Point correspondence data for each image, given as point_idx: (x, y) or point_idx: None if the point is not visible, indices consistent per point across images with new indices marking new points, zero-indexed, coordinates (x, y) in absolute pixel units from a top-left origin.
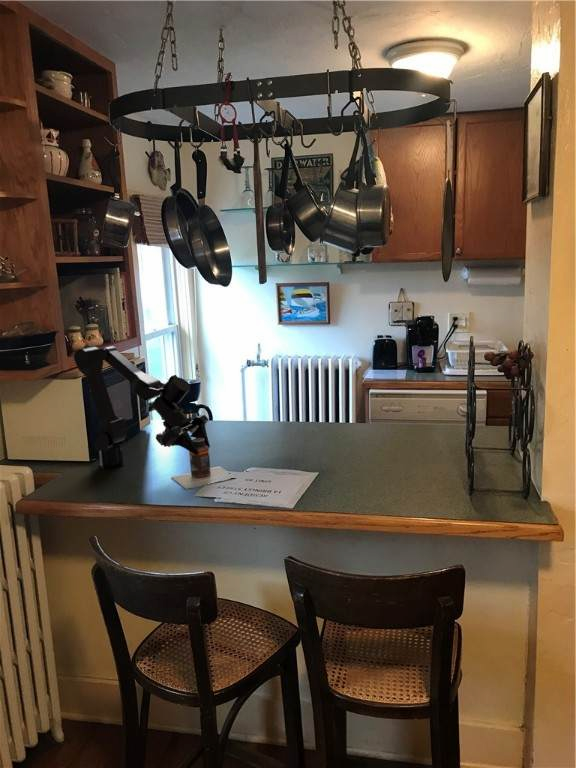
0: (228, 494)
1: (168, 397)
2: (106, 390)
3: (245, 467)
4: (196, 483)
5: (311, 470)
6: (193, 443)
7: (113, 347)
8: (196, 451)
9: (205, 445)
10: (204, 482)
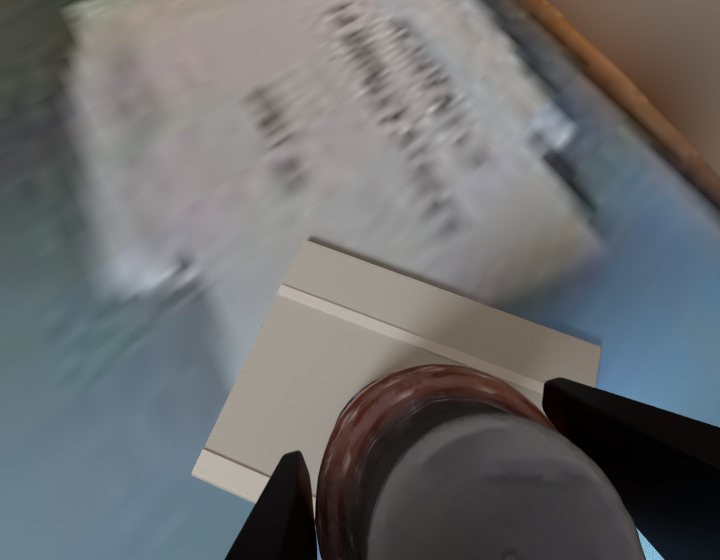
0: (484, 135)
1: None
2: None
3: (125, 318)
4: (512, 352)
5: (55, 35)
6: (701, 447)
7: None
8: (584, 388)
9: (395, 426)
10: (470, 325)
